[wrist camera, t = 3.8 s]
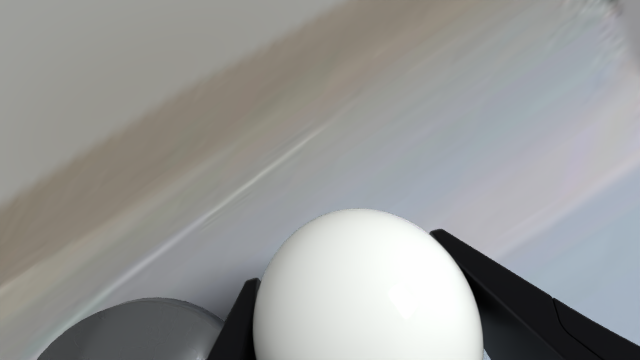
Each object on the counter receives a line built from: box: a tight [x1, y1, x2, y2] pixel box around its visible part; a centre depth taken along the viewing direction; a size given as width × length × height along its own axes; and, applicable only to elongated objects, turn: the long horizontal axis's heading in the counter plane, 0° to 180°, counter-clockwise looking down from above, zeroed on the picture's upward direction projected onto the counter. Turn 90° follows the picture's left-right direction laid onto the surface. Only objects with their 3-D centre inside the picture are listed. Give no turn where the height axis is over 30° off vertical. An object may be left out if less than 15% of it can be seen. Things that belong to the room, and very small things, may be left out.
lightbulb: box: [253, 208, 484, 360], centre depth 10 cm, size 6×6×11 cm
